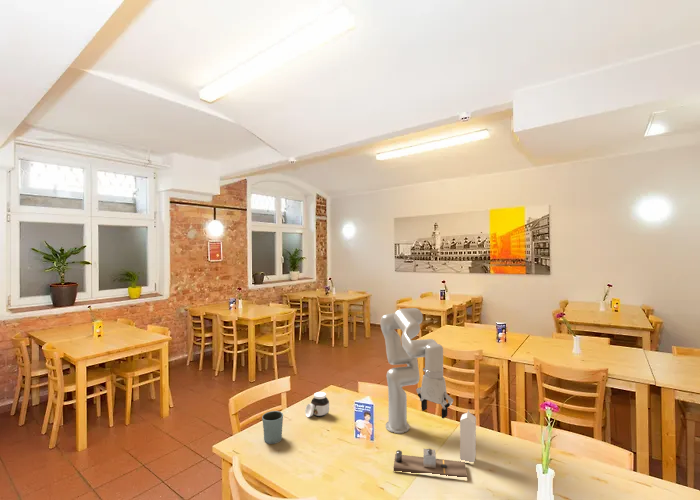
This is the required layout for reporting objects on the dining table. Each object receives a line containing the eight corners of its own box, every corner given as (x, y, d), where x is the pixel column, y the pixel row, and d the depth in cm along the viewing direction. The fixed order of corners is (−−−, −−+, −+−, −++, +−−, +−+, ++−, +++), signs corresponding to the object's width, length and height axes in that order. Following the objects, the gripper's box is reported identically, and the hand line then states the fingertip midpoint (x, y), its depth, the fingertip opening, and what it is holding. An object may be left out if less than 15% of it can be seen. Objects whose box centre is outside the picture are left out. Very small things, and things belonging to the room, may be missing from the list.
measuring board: (395, 458, 162) (395, 453, 162) (464, 466, 156) (464, 461, 156) (393, 472, 152) (393, 467, 152) (467, 481, 146) (467, 476, 146)
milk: (460, 462, 159) (459, 412, 159) (462, 455, 164) (461, 407, 164) (474, 465, 156) (474, 415, 156) (476, 458, 162) (475, 409, 161)
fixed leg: (396, 459, 158) (396, 450, 158) (402, 459, 157) (402, 450, 157) (396, 462, 156) (396, 453, 155) (401, 463, 155) (401, 453, 155)
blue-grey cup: (285, 434, 182) (285, 411, 182) (279, 445, 172) (279, 420, 172) (266, 433, 183) (266, 410, 183) (259, 444, 173) (259, 419, 173)
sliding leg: (423, 459, 157) (423, 446, 157) (435, 461, 156) (435, 447, 156) (423, 466, 152) (423, 452, 152) (435, 468, 151) (435, 454, 151)
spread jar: (331, 414, 205) (331, 393, 205) (319, 422, 196) (319, 401, 195) (314, 409, 211) (314, 389, 211) (302, 416, 202) (302, 396, 202)
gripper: (412, 370, 156) (412, 410, 156) (448, 381, 144) (448, 423, 144) (421, 366, 161) (421, 404, 161) (457, 376, 149) (457, 417, 149)
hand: (434, 413), depth 152 cm, fingers open, 9 cm apart
